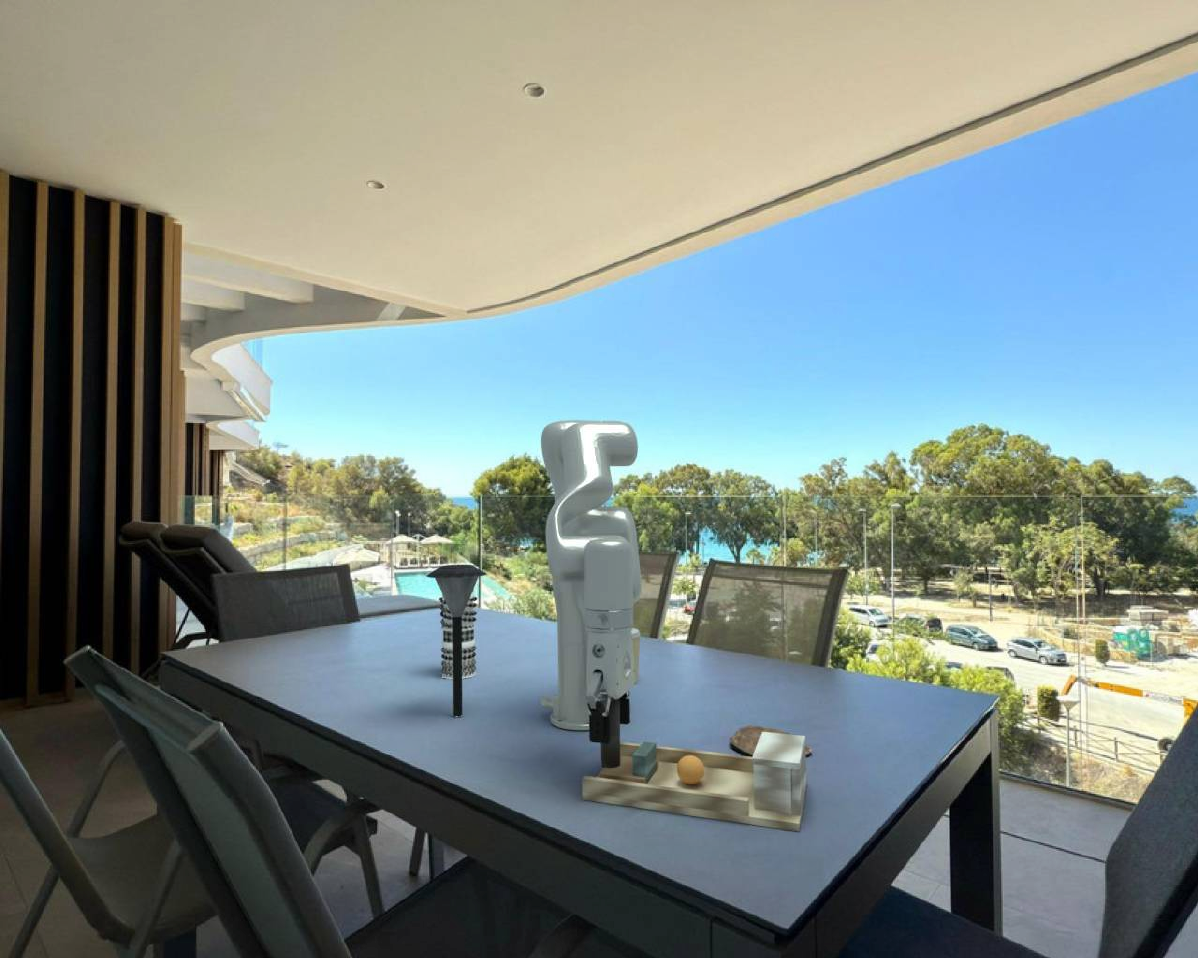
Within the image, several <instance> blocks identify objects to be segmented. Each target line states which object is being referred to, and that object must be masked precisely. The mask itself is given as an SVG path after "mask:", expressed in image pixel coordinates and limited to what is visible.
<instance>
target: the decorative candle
mask: <svg viewBox="0 0 1198 958" xmlns="http://www.w3.org/2000/svg"><path fill="white" fill-rule="evenodd" d="M477 600H478V597H476V596H475V591H474V589H473V591H472V594H471V596H470V598H469V601H468V603H467V605H466V608H465V610H464V612H463V615H462V679H463V678H468V677H472V676H474V675H475V674H476V675H477V673H476V670H477V667H476V664H477V660H476V659H475V657H476V656H477V653H476V652H475V650H477V647H476V646H475V645H476V643H475V641H476V639H475V629H476V627H477V625H476V624H474V623H475V622H476V621H477V618H476V617H474V616H476V615H477V614H478V613H477V611H475V609H474V608H476V607H477V606H478V604H477V603H476V602H475V601H477ZM438 601H439V602H440V603H441V604H440V606H439V607H438V609H439V610H440V612H439V615H440V617H441V620H440V625H441V627H440V630H442V641H441V646H442V647H441V649H440V651H441V654H440V655H441V656H440V657H441V659H442V661H441V662H440V666H441V669H440V671H441V673H442V674H441V675H442V677H445V678H449V679H453V628H452V614H451V612H450V610H449V608H448V606H447V603H446V601H445V599H444V597H443V595H442V594H441V597H439V598H438ZM442 677H441V678H442ZM472 678H473V677H472Z"/></svg>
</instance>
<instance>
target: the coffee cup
mask: <svg viewBox="0 0 1198 958" xmlns="http://www.w3.org/2000/svg"><path fill="white" fill-rule="evenodd" d="M631 632H632V640H633V652H634V669H635V683H634V685H635V684H637V683H638V680H639V667H640V645H641V632H640V630H639V629H638V628H635V627H633V629H632V630H631Z"/></svg>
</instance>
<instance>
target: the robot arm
mask: <svg viewBox="0 0 1198 958" xmlns="http://www.w3.org/2000/svg"><path fill="white" fill-rule="evenodd" d="M540 446H541V447H540V448H541V456H542V462H543V464H544V467H545V470H546V472H547V473H546V474H548V476H549V477H548V478H549V479H550V482H551V485H552V488H553V493H554V504H553V506H552V508H551V509H550V511H549V513H548V516H547V519H546V525H545V543H546V544H545V545H546V559H547V560H546V561H547V564H548V570H549V573H550V575H551V580H552V581H551V582H552V591H553V595H554V602H555V611H556V626H557V627H556V628H557V629H556V630H557V637H556V638H557V691H558V692H557V694H555V696H553V695H549V694H548V695H547V694H542V695H541V697H540V699H539V701H540V707H541V708H544V709H545V708H546V709H551V710H553V711H552V713H551V714H550V716H549V719H550V720H549V721H550V723H551V724H552V725H553V726H555V727H557V728H560V729H563V730H570V731H588V734H589V735H588V736H589V739H588V740H589V742H590V743H595V744H596V743H597V744H601V743H605V744H609V743H610V742H611V716H610V715H608V712H609V706H610V701H611V698H613V699H615V700H617V699H619V700H620V725H629V724H630V720H631V719H630V717H631V714H630V711H631V709H630V707H631V705H630V694H631V691H630V690H631V689H632V688H633V687H634V686H635V684H634V683H635V669H634V652H633V640H632V632H631V630H632V629H633V628H634V607H633V606H634V604H635V603H636V602H637V601H638V600H640V597H641V596H642V595H641V594H642V584H643V583H642V582H643V581H642V573H641V572H642V571H641V570H642V569H641V564H640V562H641V561H640V554H639V544H638V536H637V529H636V523H635V519H634V516H633V514H632V513H631V511H630V510H629V509H628V508H626V507H623V506H613V505H605V506H603V505H604V504H606V503H607V502H608V501H609V500H610V499H611V498H612V496H613V494H614V483H613V482H614V481H613V477H612V472H611V467H629V466H632V465H633V464H634V463H635V462H636V460H637V457H638V452H639V451H638V450H639V443H638V438H637V434H636V432H635V429H634V428H633V427H632V425H631V424H629V423H627V422H624V421H619V420H585V419H584V420H573V419H572V420H569V419H568V420H560V421H559V420H558V421H553V422H550V423H549V424H547V425H545V426H544V427H543V429H542V431H541V435H540ZM600 700H605V701H604V706H603V705H602V703H601V701H600Z"/></svg>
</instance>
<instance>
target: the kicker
mask: <svg viewBox="0 0 1198 958" xmlns="http://www.w3.org/2000/svg"><path fill="white" fill-rule="evenodd" d="M600 701H601V703H602V705H603V706H604V701H605V700H600ZM608 715H610V716H611V742H610V743H609V744H605V743H600V768H601V770H600V772H599V773H598V775H599V778H605V779H613V780H620V781H628V782H635V783H642V784H646V783H647V782H648V780H649V779H650V778H651V776H652V775H653V773H654V772H655V771H656V769H657V768H658V767H659V766H658V760H657V749H656V746H657V742H651V741H645V740H644V741H643V742H642V743H640V744H641V745H640V747H639V748H638V749H637V750H636V751H635V752H634V754H633V755H632V757H629V756H621V755H620V742H621V724H620V700H619V699H617V700H615V699H613V698H611V701H610V706H609V712H608Z"/></svg>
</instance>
